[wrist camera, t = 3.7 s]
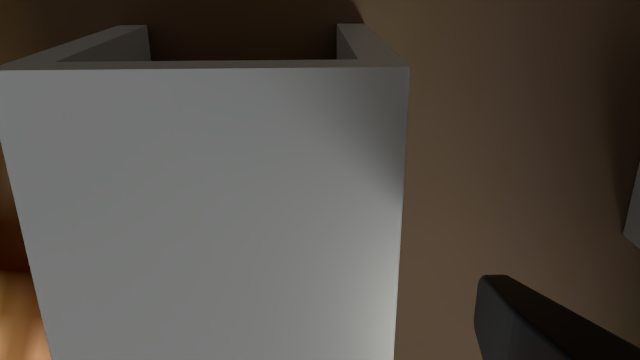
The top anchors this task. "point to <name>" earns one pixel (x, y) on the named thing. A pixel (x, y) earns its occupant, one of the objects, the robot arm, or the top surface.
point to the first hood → (634, 214)
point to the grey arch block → (209, 199)
